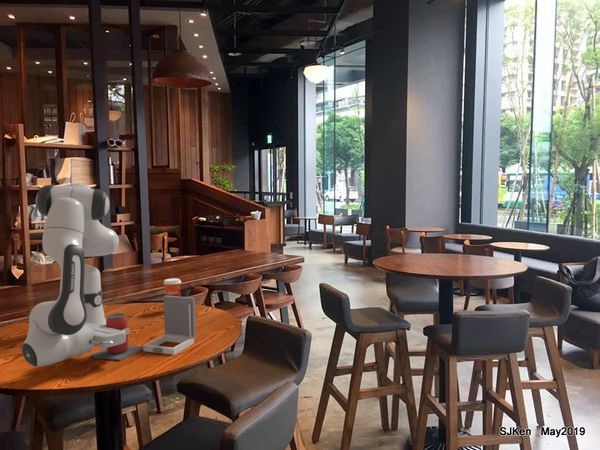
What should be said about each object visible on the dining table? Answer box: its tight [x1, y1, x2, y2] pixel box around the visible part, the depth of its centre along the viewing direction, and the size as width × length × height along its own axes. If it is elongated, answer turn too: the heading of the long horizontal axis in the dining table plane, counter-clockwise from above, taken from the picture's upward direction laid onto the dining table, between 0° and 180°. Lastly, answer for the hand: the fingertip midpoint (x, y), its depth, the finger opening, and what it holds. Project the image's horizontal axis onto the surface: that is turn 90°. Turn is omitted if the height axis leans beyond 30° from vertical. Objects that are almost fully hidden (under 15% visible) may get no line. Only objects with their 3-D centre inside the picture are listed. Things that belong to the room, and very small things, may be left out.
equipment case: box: [142, 295, 197, 356], centre depth 160 cm, size 12×14×16 cm
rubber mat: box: [89, 344, 143, 362], centre depth 156 cm, size 12×12×1 cm
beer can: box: [106, 313, 129, 354], centre depth 155 cm, size 7×7×12 cm
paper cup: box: [163, 278, 182, 297], centre depth 210 cm, size 8×8×14 cm
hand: (119, 328), depth 156 cm, fingers open, 8 cm apart
